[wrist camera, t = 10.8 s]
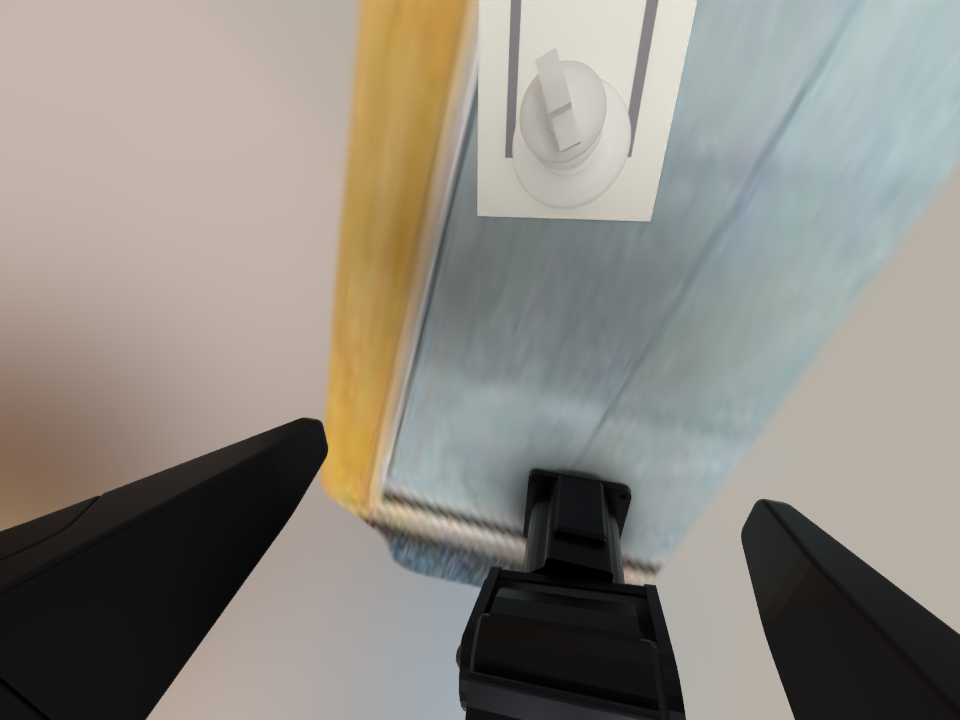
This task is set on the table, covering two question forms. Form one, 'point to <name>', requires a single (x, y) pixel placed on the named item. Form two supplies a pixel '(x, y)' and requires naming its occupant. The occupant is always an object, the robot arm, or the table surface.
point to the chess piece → (569, 134)
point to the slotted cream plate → (615, 59)
